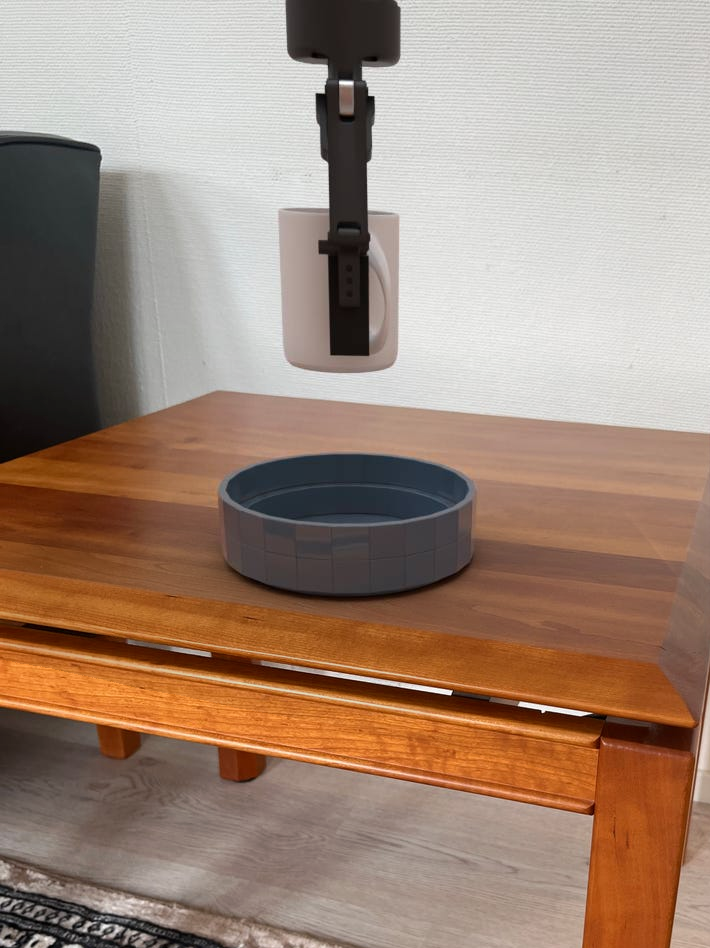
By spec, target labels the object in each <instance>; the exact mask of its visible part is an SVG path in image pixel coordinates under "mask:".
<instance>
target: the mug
mask: <svg viewBox="0 0 710 948" xmlns="http://www.w3.org/2000/svg"><path fill="white" fill-rule="evenodd" d="M277 216H278V239H279V240H278V244H279V245H278V246H279V270H280V271H279V272H280V292H281V293H280V296H281V298H280V299H281V300H280V301H281V327H282V347H283V353H284V357H285V359H286V361H287V363H289V365H291V366H293V367H295V368H298V369H301V370H305V371H311V372H317V373H328V374H329V373H330V374H365V373H373V372H380V371H385V370H387V369H389V368H391V367H393V366H394V365H395V363H396V361H397V358H398V354H399V353H398V351H399V303H400V302H399V294H400V292H399V291H400V289H399V287H400V214H399V213H397V212H392V211H384V210H373V209H368V232H369V233H370V242H369V250H368V251H367V255H368V256H369V356H330V329H329V284H328V255H324V254H319V251H318V240H328V232H329V230H330V221H329V207H281V208H279V209H278V210H277Z"/></svg>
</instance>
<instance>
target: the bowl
mask: <svg viewBox="0 0 710 948" xmlns="http://www.w3.org/2000/svg"><path fill="white" fill-rule="evenodd" d="M216 492H217V506H218V507H217V508H218V518H219V519H218V520H219V532H220V546H221V553H222V555H223V557H224V560H225V562H226V563H227V565H228V566H229V567H231V568H232V569H234V570H235V571H236V572H238V573H239V574H241V575H242V576H245V577H247V578H249V579H252V580H255V581H257V582H259V583H262V584H264V585H266V586H269V587H273V588H275V589H276V588H277V589H280V590H284V591H289V592H293V593H294V592H295V593H299V594H300V593H301V594H306V595H314V596H323V597H326V596H327V597H369V596H380V595H388V594H394V593H400V592H405V591H410V590H415V589H418V588H422V587H425V586H428V585H431V584H434V583H436V582H438V581H440V580H443V579H444V578H447V577H449V576H451V575H454V574H456V573H458V572H460V570H461V569H463V568H465V566H467V565H468V564H469V563H471V560H472V557H473V555H474V554H475V550H476V531H477V530H476V529H477V504H478V503H477V502H478V489H477V487H476V485H475V482H474V480H473V479H471V478H470V477H468V476H467V474H465V473H463V471H460V470H457V469H455V468H452V467H450V466H447V465H446V464H442V463H438V462H435V461H431V460H426V459H423V458H418V457H411V456H405V455H398V454H391V453H389V454H388V453H378V452H377V453H376V452H361V451H357V452H356V451H355V452H354V451H353V452H351V451H349V452H348V451H347V452H344V451H341V452H338V451H337V452H335V451H334V452H319V453H304V454H295V455H289V456H281V457H274V458H271V459H267V460H262V461H259V462H254V463H251V464H248V465H246V466H243V467H241V468H238V469H235V470H234V471H231V472H230V473H229V474H228V475H226V476H225V477H224V478H222V479H221V480H220V483H219V484H218V488H217V491H216Z"/></svg>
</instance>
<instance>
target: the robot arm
mask: <svg viewBox="0 0 710 948" xmlns="http://www.w3.org/2000/svg"><path fill="white" fill-rule="evenodd" d="M398 4H399V3H398V1H397V0H285V30H286V32H285V33H286V51H287V54H288V56H289V57H290V59H292V60H293V61H295V62H298V63H303V64H309V65H324V66H327V77H326V80H325V84H324V92H315V121H316V123H317V125H318V126H319V148H320V158H322V160H323V161H325V162H326V163H327V172H328V173H327V174H328V178H327V179H328V208H329V221H330V230H329V232H328V240H318V251H319V254H324V255H328V284H329V329H330V356H369V256H368V255H367V251H368V250H369V242H370V233H369V232H368V210H369V205H368V204H369V203H368V201H369V199H368V163H369V162H371V160H372V157H373V127H374V125H375V118H376V96H375V95H369V86H368V83H367V80H366V79H363V68H374V69H375V68H376V69H377V68H390V67H394V66H395V65H397V64H398V63H399V62H400V60H401V53H402V51H401V49H402V48H401V47H402V46H401V43H402V42H401V40H402V39H401V36H402V35H401V34H402V33H401V32H402V31H401V29H402V28H401V26H402V25H401V23H402V21H401V19H402V18H401V17H402V16H401V15H402V14H401V13H402V12H401V11H402V8H401V7H400V6H399V5H398Z"/></svg>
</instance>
